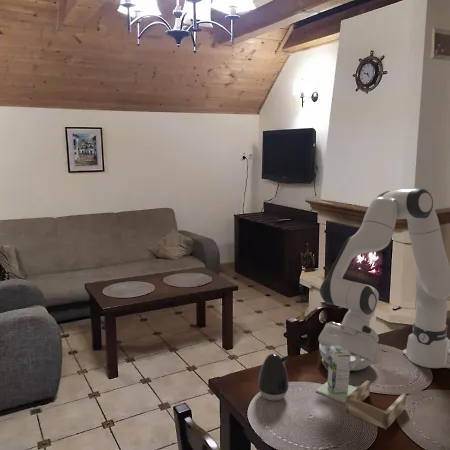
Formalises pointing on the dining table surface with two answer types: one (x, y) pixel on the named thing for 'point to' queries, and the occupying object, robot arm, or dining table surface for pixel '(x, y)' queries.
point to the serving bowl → (359, 366)
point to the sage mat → (337, 396)
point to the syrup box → (338, 369)
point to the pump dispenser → (273, 378)
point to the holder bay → (371, 412)
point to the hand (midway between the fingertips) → (338, 363)
